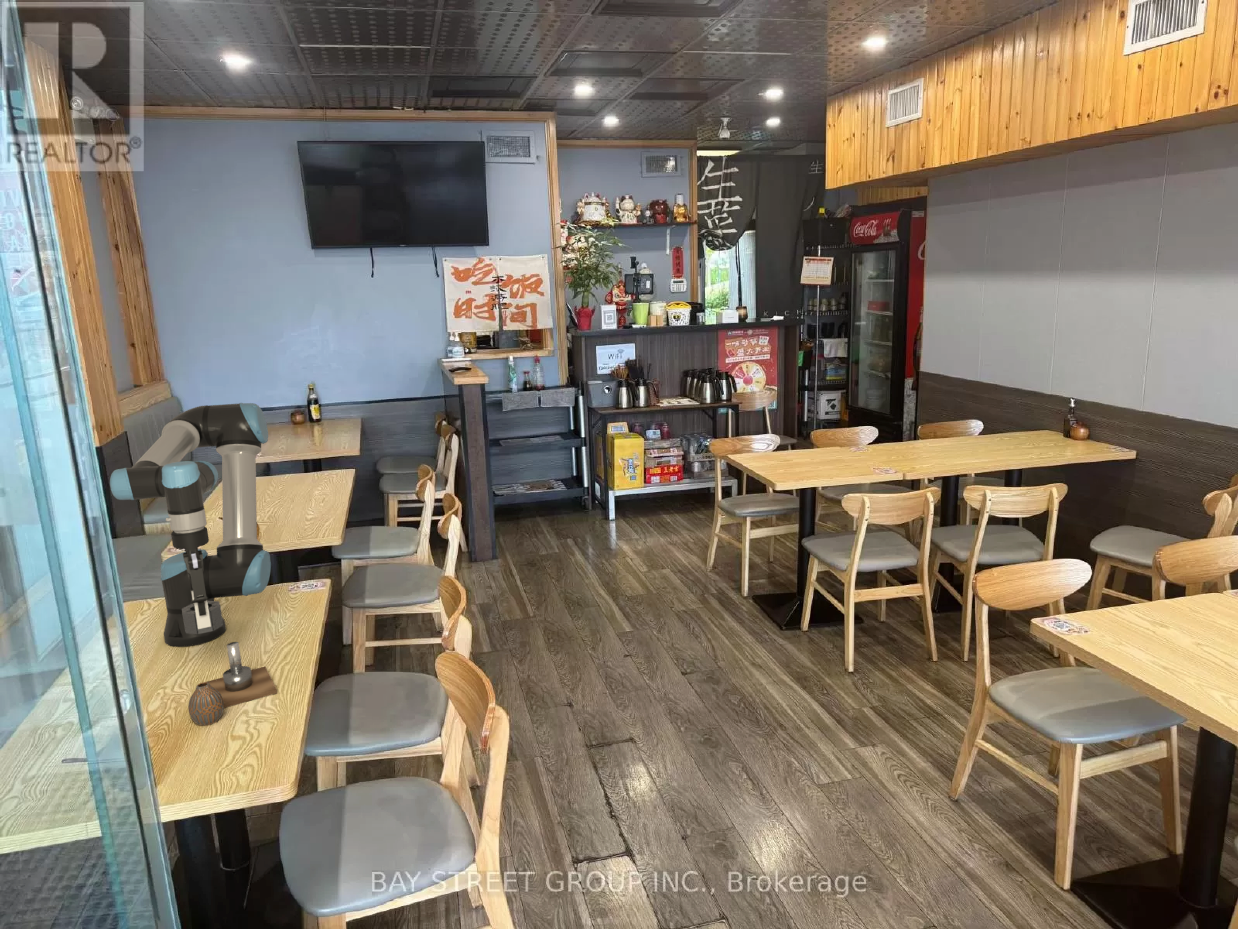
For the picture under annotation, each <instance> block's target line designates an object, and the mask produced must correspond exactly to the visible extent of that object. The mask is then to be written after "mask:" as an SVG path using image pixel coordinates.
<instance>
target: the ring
mask: <svg viewBox="0 0 1238 929" xmlns="http://www.w3.org/2000/svg"><path fill="white" fill-rule="evenodd" d="M207 603H208V610H209V616H210V623H211V627H206V628H202V629H198V626H197V619H196V613H195V606H194V603H193V604H190V605H188V606H186V607H184V608H182V614H183V620H184V627H185V632H186V633H188V634H201V633H206V632H210V631H214V630H216V629H218V628H219V627H221V626H223V620H222V617H223V615H222V613H223V612H222V607H221V603H220V601H218V600H214V601H207Z"/></svg>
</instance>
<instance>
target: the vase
mask: <svg viewBox="0 0 1238 929" xmlns="http://www.w3.org/2000/svg"><path fill="white" fill-rule="evenodd" d="M224 709H225V708H224V702H223V698H222V696H221V694H220V693H219V691H217V690H216V689H215V688H213V687H212V686H211V685H210V684H209V683H208V682H207V681H203V682H200V683H197V685H196V687H195V689H194V691H193V693H192V694H191V696H190V697H189V701H188V712H189V713H188V714H189V717H190V719H191V721H193V722H194V723H195V724H197V725H200V726H209V725H212V724H215V723H216V722H218V721H219V720H220V718H221V717H222V715H223V713H224Z"/></svg>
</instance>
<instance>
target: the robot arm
mask: <svg viewBox="0 0 1238 929" xmlns="http://www.w3.org/2000/svg"><path fill="white" fill-rule="evenodd" d="M268 441H269V430H268V424H267V420H266V417H265V414H264V412H263V410H262V408H261V407H260V406H259V405H258V404H256V403H251V402H250V403H243V402H239V403H231V404H230V403H229V404H228V403H227V404H212V405H199V406H195V407H193V408H189V409H187V410H186V411H182V412H181V413H179V414H178V415H176V416H174V417H173V418H172V419H171V420H169V422H167V423H166V424H165V425H164V426H163V428H162V430H161V436H159V438H158V439H156V441H155V442H154V443H153V444H152V445H151V446H150V448H148V449H147V450H146V451H145V453H143V455H142V456H141V457H140V458H139V459H138V460H137V461H136V462H135V463H134V465H132V466H131V467H124V468H119V469H115V470H113V471H112V473H111V474H110V479H109V486H110V490H111V494H112V495H113V497H114V498H115V499H117V500H118V501H127V500H128V501H130V500H131V501H134V500H135V501H136V500H146V499H147V500H148V499H156V498H157V499H158V498H165V504H166V509H167V514H168V515H167V516H168V517H166V518H165V522H167V523H169V527H170V528H169V529H170V531H172V532H171V533H170V537H171V542H172V547H173V548H174V549H176V550H184V551H183V552H180V553H177V554H174V555H172V556H170V557H168V558H167V559H165V560H163V561H162V563H161V564H160V581H161V584H162V585H161V586H162V589H163V590H162V591H163V595H164V601H165V607H166V613H167V615H166V620H165V621H166V622H165V625H164V631H163V638H164V643H165V645H167V644H168V645H167V646H169V645H170V647H178V648H181V647H182V648H183V647H184V648H185V647H191V646H198V645H202V644H204V643H205V644H206V643H208V642H211V641H214V640H216V639H218V638H220V637H221V636H222V635H223V634H225V633H226V630H227V626H226V621H225V619H224V617H223V616H222V620H223V626H221V627H219V628H218V629H216V630H214V631H210V632H206V633H201V634H188V633H186V632H185V627H184V620H183V614H182V608H184V607H186V606H188V605H190V604H193V603H194V606H195V613H196V619H197V626H198V629H202V628H206V627H211V623H210V616H209V610H208V603H207V601H215V599H219V598H229V597H242V596H245V597H247V596H251V595H257V594H258V595H259V594H261V593H262V592H263V591H265V589H266V588H267V586H268V584H269V581H270V575H271V569H272V568H271V567H272V563H271V561H272V560H271V554H270V553H269V551H268V550H265V549H264V545H263V544H262V543H261V542H260V541H259V540H258V529H257V527H258V524H257V522H258V521H257V519H258V518H257V466H256V465H257V464H256V462H257V459H256V457H257V455H259V454H260V452H262V445H263V444H266V443H267V442H268ZM208 447H213V448H214V447H215V451H216V452H217V453H218V454H219V455H220V456H221V459H222V460H221V462H222V464H221V470H222V471H221V473H222V474H221V475H222V478H221V480H222V482H221V483H222V487H221V488H222V490H221V491H222V495H221V496H222V540H221V542H220V543H219V544H218V545H217V547H216V554H213V555H212V554H211V555H209V552H208V551H207V550H206V549H204V548H203V549H201V548H199V547H203V546H206V545H208V543H209V542H210V540H209V531H208V527H207V517H206V510H205V505H204V498H203V495H205V494H206V493H207V492H209V491H211V490H212V489H213V488H214V486H215V485H216V484H217V482H218V480H219V472H218V470H217V468H216V466H215V465H214V464H213V463H211V462H209V461H206V460H196V461H192V460H187V461H186V460H185V461H184V460H183V459H184V458H185V456H186V455H187V454H188V453H192V452H193V451H195V450H196V449H198V448H208ZM182 460H183V461H182Z"/></svg>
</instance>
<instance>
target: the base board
mask: <svg viewBox="0 0 1238 929" xmlns="http://www.w3.org/2000/svg"><path fill="white" fill-rule="evenodd" d="M251 673H252V680H253V684H252V685H251V686H250V687H249V688H247V689H244V690H241V691H236V692H229V691H226V690H225V685H224V678H223V676H222V677H219V678H215V679H211V680H207V681H206V682H208V683H209V684H210V685H211V686H212V687H213V688H215V689H216V690H217V691H219V693H220V694H221V696H222V698H223V702H224V709H226V708H229V707H231V706H235V705H236V706H237V705H239V704H243V703H247V702H250V701H254V700H257V699H262V698H264V697H268V696H271V695H275V694H277V693H278V691H277V686H276V685H275V683H274V681H273V680H272V677H271V675H270V673H269V672H268V669H267V668H266V666H261V667H257V668H253V669H251Z"/></svg>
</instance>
